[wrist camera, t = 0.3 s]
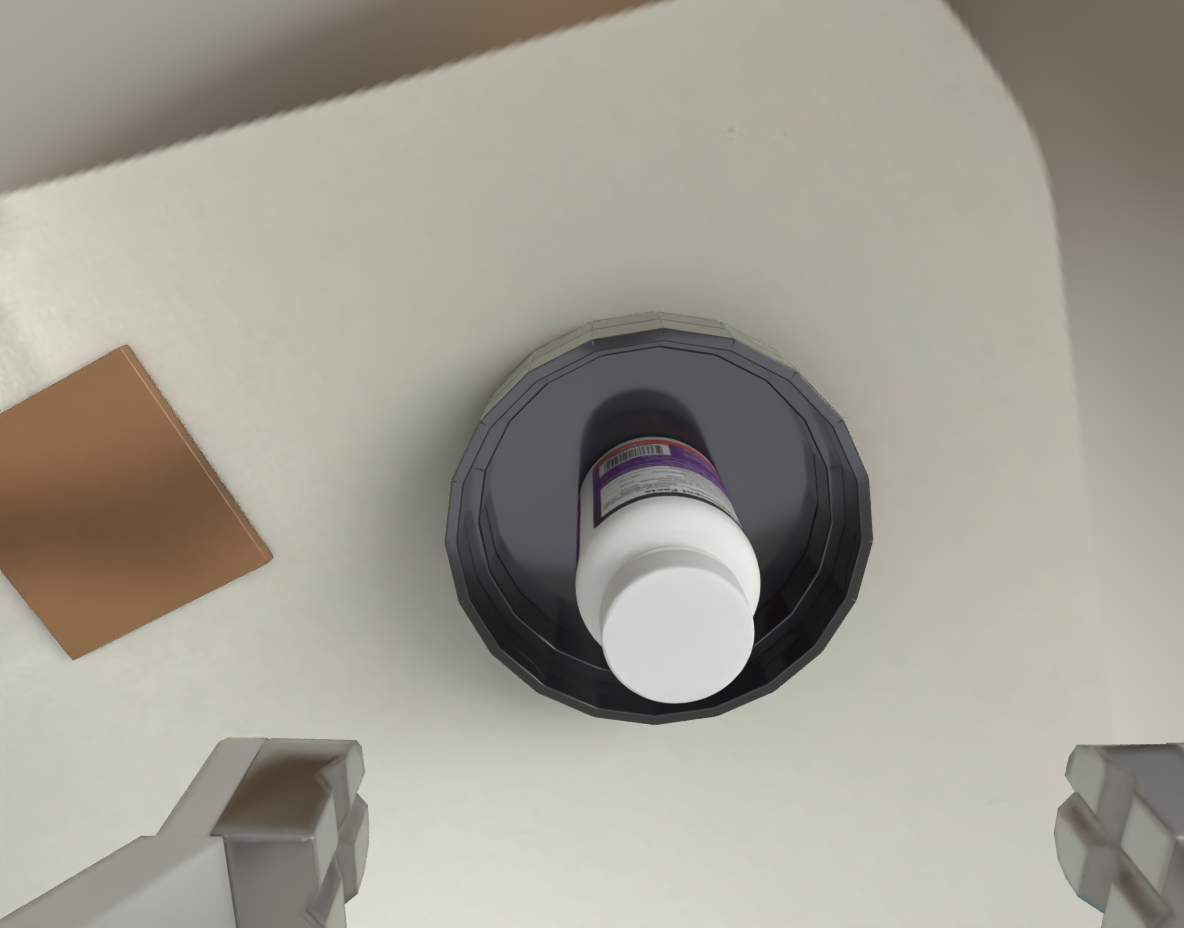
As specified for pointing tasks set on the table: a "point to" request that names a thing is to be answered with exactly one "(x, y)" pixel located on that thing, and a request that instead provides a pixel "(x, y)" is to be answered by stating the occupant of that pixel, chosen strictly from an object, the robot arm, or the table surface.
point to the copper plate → (112, 507)
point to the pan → (671, 410)
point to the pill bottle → (665, 571)
